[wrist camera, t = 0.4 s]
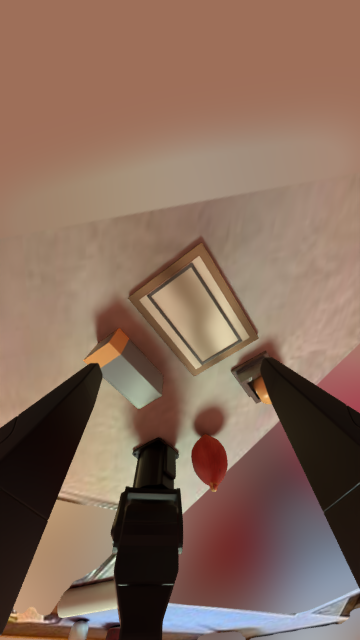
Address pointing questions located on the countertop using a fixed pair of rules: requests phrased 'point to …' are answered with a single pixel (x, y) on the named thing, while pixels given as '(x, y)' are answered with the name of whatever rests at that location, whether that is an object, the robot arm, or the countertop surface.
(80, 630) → the plastic bottle
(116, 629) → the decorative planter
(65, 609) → the tube
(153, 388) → the grey orange block
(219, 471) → the onion
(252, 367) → the button collar
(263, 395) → the button
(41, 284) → the countertop surface
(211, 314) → the picture frame
